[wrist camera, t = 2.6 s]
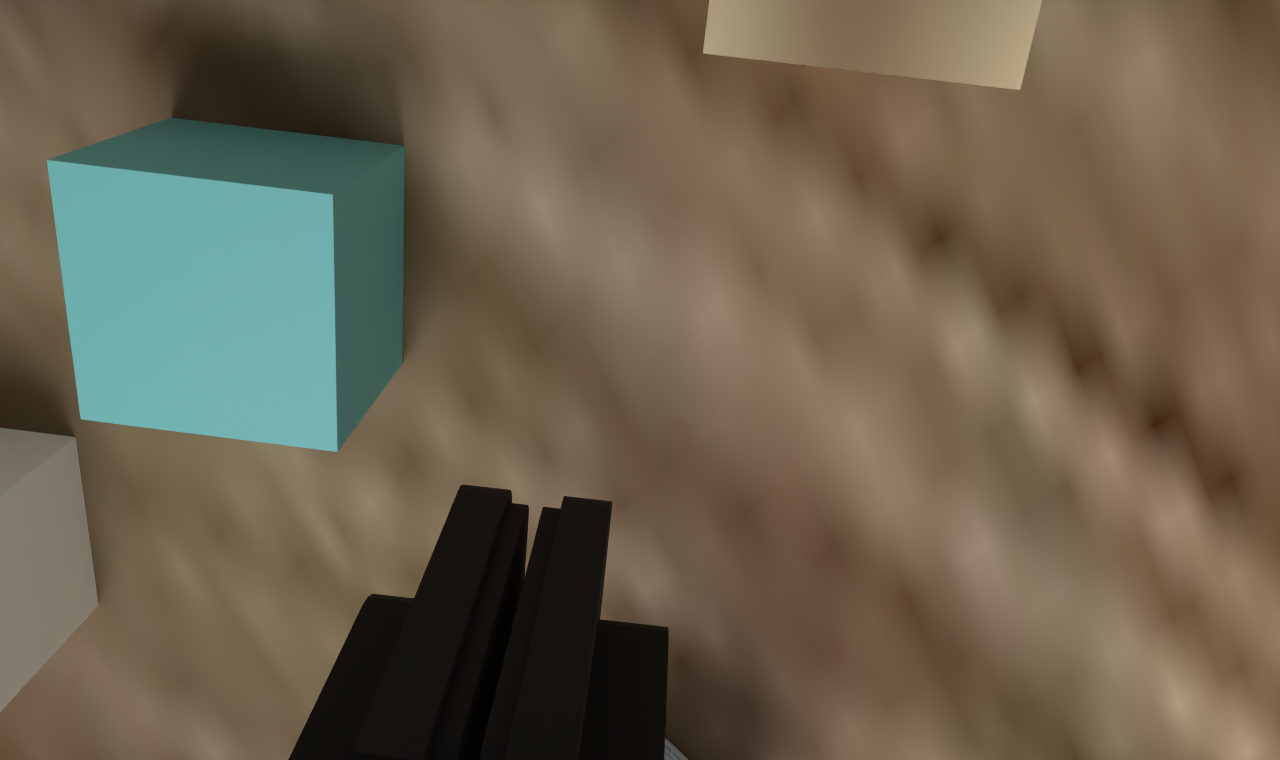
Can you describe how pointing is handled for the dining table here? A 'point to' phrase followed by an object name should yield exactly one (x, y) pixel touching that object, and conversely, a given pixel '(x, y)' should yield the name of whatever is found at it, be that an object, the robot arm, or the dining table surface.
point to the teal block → (232, 279)
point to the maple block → (882, 36)
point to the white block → (40, 553)
